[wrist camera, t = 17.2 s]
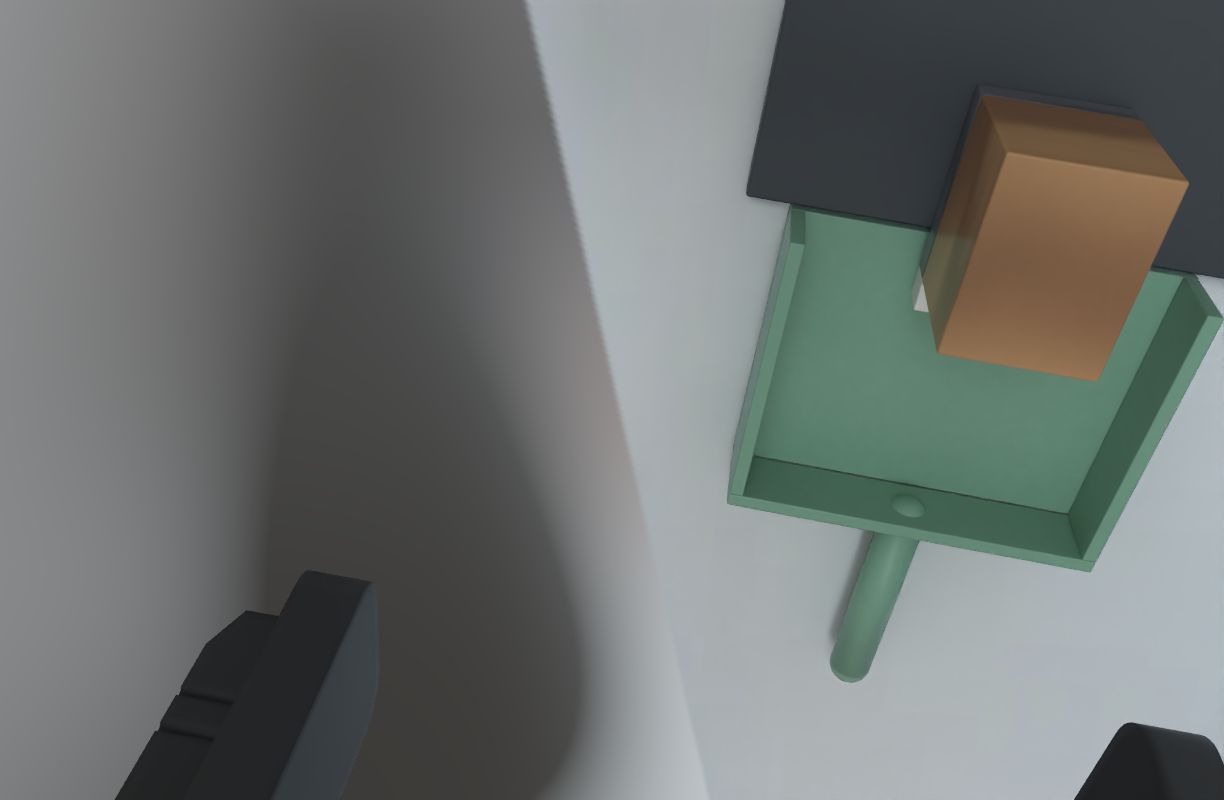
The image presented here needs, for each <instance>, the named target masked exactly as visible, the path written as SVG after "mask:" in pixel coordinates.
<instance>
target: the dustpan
mask: <svg viewBox="0 0 1224 800" xmlns="http://www.w3.org/2000/svg"><path fill="white" fill-rule="evenodd" d="M930 230H931V228H925V227H920V226H914V225H908V224H902V223H897V222H891V221H885V220H879V219H874V218H868V217H862V216H856V215H850V214H845V213H839V212H833V211H827V210H822V209H816V208H810V207H804V206H799V205H793V204H791V205H790V208H789V213H788V217H787V221H786V225H785V230H784V234H783V238H782V242H781V247H780V251H779V255H778V259H777V264H776V268H775V272H774V276H773V280H772V285H771V289H770V293H769V297H768V302H767V306H766V310H765V314H764V319H763V323H762V327H761V331H760V336H759V340H758V344H757V348H756V353H755V357H754V361H753V365H752V369H751V374H750V378H749V382H748V386H747V391H746V395H745V399H744V403H743V408H742V412H741V416H740V420H739V425H738V429H737V433H736V437H735V442H734V446H733V454H732V458H731V463H730V475H729V486H728V497H727V504H730V505H736V506H741V507H746V508H751V509H757V510H762V511H767V512H773V513H778V514H783V515H789V516H794V517H799V518H804V519H810V520H815V521H820V522H826V523H831V524H836V525H842V526H847V527H852V528H857V529H863V530H868V531H873V532H874V535H873V538H872V541H871V543H870V546H869V549H868V552H867V555H866V558H865V560H864V563H863V566H862V569H861V572H860V574H859V577H858V580H857V583H856V586H855V589H854V591H853V594H852V597H851V600H850V603H849V606H848V608H847V611H846V614H845V617H844V620H843V622H842V625H841V628H840V631H839V634H838V637H837V639H836V642H835V645H834V648H833V651H832V654H831V657H830V666H831V669H832V671H833V673H834V674H835V675H836V676H837V677H838V678H839V679H840V680H842V681H844V682H850V683H851V682H857V681H860V680H862V679H863V678H864V677H865V676H866V675H867V673H868V671H869V669H870V666H871V664H872V661H873V658H874V656H875V653H876V651H877V648H878V646H879V643H880V640H881V638H882V635H883V633H884V630H885V628H886V625H887V622H888V620H889V617H890V615H891V612H892V610H893V607H894V604H895V602H896V599H897V597H898V594H899V592H900V589H901V586H902V584H903V581H904V579H905V576H906V574H907V571H908V568H909V566H910V563H911V561H912V558H913V556H914V553H915V550H916V548H917V545H918V543H919V540H921V541H926V542H932V543H937V544H942V545H948V546H953V547H958V548H963V549H969V550H974V551H979V552H985V553H990V554H995V555H1001V556H1006V557H1011V558H1016V559H1022V560H1027V561H1032V562H1038V563H1043V564H1048V565H1054V566H1059V567H1064V568H1069V569H1075V570H1080V571H1085V572H1091V570H1092V568H1093V567H1094V565H1095V562H1096V561H1097V559H1098V557H1099V555H1100V553H1101V551H1102V550H1103V548H1104V546H1105V544H1106V542H1107V540H1108V538H1109V536H1110V534H1111V532H1112V531H1113V529H1114V527H1115V525H1116V523H1117V521H1118V519H1119V517H1120V515H1121V513H1122V512H1123V510H1124V508H1125V506H1126V504H1127V502H1128V500H1129V498H1130V496H1131V495H1132V493H1133V491H1134V489H1135V487H1136V485H1137V483H1138V481H1139V479H1140V477H1141V476H1142V474H1143V472H1144V470H1145V468H1146V466H1147V464H1148V462H1149V460H1150V458H1151V457H1152V455H1153V453H1154V451H1155V449H1156V447H1157V445H1158V443H1159V441H1160V440H1161V438H1162V436H1163V434H1164V432H1165V430H1166V428H1167V426H1168V424H1169V422H1170V421H1171V419H1172V417H1173V415H1174V413H1175V411H1176V409H1177V407H1178V405H1179V404H1180V402H1181V400H1182V398H1183V396H1184V394H1185V392H1186V390H1187V388H1188V386H1189V385H1190V383H1191V381H1192V379H1193V377H1194V375H1195V373H1196V371H1197V369H1198V367H1199V366H1200V364H1201V362H1202V360H1203V358H1204V356H1205V354H1206V352H1207V350H1208V349H1209V347H1210V345H1211V343H1212V341H1213V339H1214V337H1215V335H1216V333H1217V331H1218V330H1219V328H1220V326H1221V324H1222V322H1223V320H1224V318H1223V316H1222V315H1221V313H1220V312H1219V310H1218V309H1217V307H1216V306H1215V304H1214V303H1213V301H1212V300H1211V298H1210V297H1209V295H1208V294H1207V292H1206V291H1205V289H1204V288H1203V286H1202V285H1201V283H1200V282H1199V281H1198V278H1197V277H1196V275H1195V274H1191V273H1185V272H1179V271H1173V270H1167V269H1162V268H1156V267H1151V268H1150V270H1149V272H1148V274H1147V276H1146V279H1145V281H1144V283H1143V285H1142V287H1141V289H1140V291H1139V294H1138V296H1137V298H1136V300H1135V302H1134V304H1133V307H1132V309H1131V311H1130V313H1129V315H1128V317H1127V320H1126V322H1125V324H1124V326H1123V328H1122V330H1121V333H1120V335H1119V337H1118V339H1117V341H1116V343H1115V346H1114V348H1113V350H1112V352H1111V354H1110V356H1109V359H1108V361H1107V363H1106V365H1105V367H1104V369H1103V371H1102V374H1101V376H1100V378H1099V380H1098V381H1097V382H1093V381H1087V380H1081V379H1076V378H1070V377H1065V376H1059V375H1053V374H1048V373H1042V372H1036V371H1031V370H1025V369H1019V368H1014V367H1008V366H1002V365H997V364H991V363H986V362H980V361H974V360H969V359H963V358H957V357H952V356H946V355H940V354H938V353H937V351H936V346H935V341H934V336H933V331H932V326H931V321H930V316H929V312H923V311H918V310H914V308H913V302H912V296H911V290H912V287H913V284H914V280H915V277H916V274H917V271H918V268H919V264H920V261H921V258H922V255H923V251H924V248H925V245H926V242H927V239H928V236H929V233H930ZM753 455H754V456H760V457H765V458H771V459H776V460H781V461H787V462H792V463H797V464H803V465H808V466H814V467H819V468H824V469H830V470H835V471H840V472H846V473H851V474H857V475H862V476H867V477H873V478H878V479H883V480H889V481H894V482H900V483H905V484H910V485H916V486H921V487H926V488H932V489H937V490H943V491H948V492H953V493H959V494H964V495H969V496H975V497H980V498H986V499H991V500H996V501H1002V502H1007V503H1012V504H1018V505H1023V506H1029V507H1034V508H1039V509H1045V510H1050V511H1055V512H1061V513H1066V514H1068V515H1065V514H1059V513H1054V512H1049V511H1043V510H1038V509H1032V508H1027V507H1022V506H1016V505H1011V504H1006V503H1000V502H995V501H989V500H984V499H979V498H973V497H968V496H963V495H957V494H952V493H946V492H941V491H936V490H930V489H925V488H920V487H914V486H909V485H903V484H898V483H893V482H887V481H882V480H877V479H871V478H866V477H861V476H855V475H850V474H844V473H839V472H834V471H828V470H823V469H818V468H812V467H807V466H801V465H796V464H791V463H785V462H780V461H775V460H769V459H764V458H758V457H753Z"/></svg>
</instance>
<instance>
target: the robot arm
mask: <svg viewBox="0 0 1224 800" xmlns="http://www.w3.org/2000/svg"><path fill="white" fill-rule="evenodd" d="M377 592H378V591H377V586H376V584H375V583H374V582H371V581H364V580H359V579H354V578H348V577H343V576H338V575H332V574H326V573H321V572H316V571H309V570H308V571H306V572H304V573H303V574H302V575H301V577H300V578H299V580H298V582H297V583H296V585H295V587H294V589H293V590H292V592H291V594H290V596H289V598H288V600H287V602H286V604H285V606H284V608H283V609H282V612H281V613H280V615H279V616H274V615H269V614H263V613H258V612H253V611H245V612H244V613H243V614H242V615H240V616H239V617H238V618H237V619H236V620H234V621H233V622H232V623H231V624H229V625H228V626H227V627H226V628H225V629H223V630H222V631H221V632H220V633H219V634H217V635H216V636H215V637H214V638H213V639H211V640H210V641H209V642H208V643H206V645H205V647H204V648H203V650H202V651H201V653H200V655H199V657H198V658H197V660H196V662H195V664H194V666H193V667H192V669H191V670H190V672H189V674H188V676H187V677H186V679H185V681H184V682H183V684H182V686H181V691H180V694H179V695H176V696H175V698H174V699H173V701H172V703H171V705H170V706H169V708H168V710H167V711H166V713H165V715H164V716H163V718H162V720H161V722H160V728H159V730H158V731H155V732H154V734H153V736H152V737H151V739H150V740H149V742H148V744H147V746H146V747H145V749H144V751H143V752H142V754H141V756H140V757H139V759H138V761H137V763H136V764H135V766H134V768H133V769H132V771H131V773H130V775H129V776H128V778H127V780H126V781H125V783H124V785H123V787H122V788H121V790H120V792H119V793H118V795H117V797H116V798H115V800H340V798H341V796H342V793H343V791H344V788H345V786H346V783H347V780H348V778H349V775H350V772H351V770H352V768H353V765H354V762H355V760H356V757H357V755H358V752H359V750H360V747H361V744H362V742H363V739H364V737H365V734H366V731H367V729H368V726H369V723H370V720H371V716H372V712H373V709H374V704H375V700H376V695H377V689H378V681H379V635H378V593H377ZM1074 800H1224V764H1223V762H1222V759H1221V756H1220V754H1219V752H1218V750H1217V748H1216V747H1215V745H1214V744H1213V743H1212V742H1211V741H1210V740H1209V739H1208V738H1207V737H1205V736H1202V735H1198V734H1192V733H1187V732H1181V731H1176V730H1170V729H1165V728H1159V727H1154V726H1148V725H1143V724H1137V723H1126V724H1124V725H1123V726H1122V727H1121V728H1120V729H1119V730H1118V731H1117V733H1116V734H1115V736H1114V737H1113V739H1112V740H1111V742H1110V744H1109V745H1108V747H1107V748H1106V750H1105V751H1104V753H1103V755H1102V756H1101V758H1100V759H1099V761H1098V763H1097V764H1096V766H1095V767H1094V769H1093V770H1092V772H1091V774H1090V775H1089V777H1088V778H1087V780H1086V782H1085V783H1084V785H1083V786H1082V788H1081V789H1080V791H1079V793H1078V794H1077V796H1076V797H1075V799H1074Z"/></svg>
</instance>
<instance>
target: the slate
mask: <svg viewBox="0 0 1224 800" xmlns="http://www.w3.org/2000/svg"><path fill="white" fill-rule="evenodd" d="M978 84H984V85H990V86H996V87H1002V88H1008V89H1015V90H1021V91H1027V92H1033V93H1039V94H1045V95H1051V96H1057V97H1064V98H1070V99H1076V100H1082V101H1088V102H1094V103H1100V104H1106V105H1113V106H1119V107H1125V108H1131V109H1133V110H1134V112H1135V113H1136V114H1137V115H1138V117H1139V118H1140V119H1141V121H1142V122H1143V123H1144V124H1145V126H1146V127H1147V128H1148V130H1149V131H1150V132H1151V133H1152V135H1153V136H1154V137H1155V139H1156V140H1157V141H1158V143H1159V144H1160V145H1161V146H1162V148H1163V149H1164V150H1165V152H1166V153H1167V154H1168V156H1169V157H1170V158H1171V159H1172V161H1173V162H1174V163H1175V165H1176V166H1177V167H1178V169H1179V170H1180V171H1181V172H1182V174H1183V175H1184V176H1185V178H1186V179H1187V180H1188V182H1189V186H1188V188H1187V190H1186V192H1185V194H1184V196H1183V199H1182V201H1181V203H1180V205H1179V207H1178V209H1177V211H1176V214H1175V216H1174V218H1173V220H1172V222H1171V224H1170V227H1169V229H1168V231H1167V233H1166V235H1165V237H1164V240H1163V242H1162V244H1161V246H1160V248H1159V250H1158V253H1157V255H1156V257H1155V259H1154V261H1153V263H1152V266H1153V267H1159V268H1165V269H1171V270H1176V271H1182V272H1188V273H1194V274H1200V275H1205V276H1211V277H1217V278H1223V279H1224V0H785V5H784V10H783V15H782V20H781V24H780V29H779V34H778V39H777V44H776V48H775V53H774V58H773V63H772V68H771V72H770V77H769V82H768V87H767V92H766V96H765V101H764V106H763V111H762V116H761V121H760V125H759V130H758V135H757V140H756V145H755V149H754V154H753V159H752V164H751V169H750V173H749V178H748V183H747V190H746V194H747V196H750V197H756V198H761V199H767V200H773V201H779V202H784V203H790V204H796V205H802V206H808V207H813V208H819V209H825V210H831V211H836V212H842V213H848V214H854V215H859V216H865V217H871V218H877V219H882V220H888V221H894V222H900V223H906V224H911V225H917V226H923V227H929V228H931V226H932V223H933V220H934V217H935V214H936V211H937V208H938V205H939V201H940V198H941V195H942V192H943V189H944V186H945V183H946V180H947V176H948V173H949V170H950V167H951V164H952V161H953V158H954V155H955V152H956V148H957V145H958V142H959V139H960V136H961V133H962V130H963V127H964V123H965V120H966V117H967V114H968V111H969V108H970V105H971V102H972V98H973V95H974V92H975V89H976V86H977V85H978Z"/></svg>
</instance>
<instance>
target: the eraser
mask: <svg viewBox="0 0 1224 800" xmlns="http://www.w3.org/2000/svg"><path fill="white" fill-rule="evenodd" d="M1188 186H1189V182H1188V180H1187V179H1186V178H1185V176H1184V175H1183V174H1182V172H1181V171H1180V170H1179V169H1178V167H1177V166H1176V165H1175V163H1174V162H1173V161H1172V159H1171V158H1170V157H1169V156H1168V154H1167V153H1166V152H1165V150H1164V149H1163V148H1162V146H1161V145H1160V144H1159V143H1158V141H1157V140H1156V139H1155V137H1154V136H1153V135H1152V133H1151V132H1150V131H1149V130H1148V128H1147V127H1146V126H1145V124H1144V123H1143V122H1142V121H1141V119H1140V118H1139V117H1138V115H1137V114H1136V113H1135V112H1134V110H1133V109H1131V108H1125V107H1119V106H1113V105H1106V104H1100V103H1094V102H1088V101H1082V100H1076V99H1070V98H1064V97H1057V96H1051V95H1045V94H1039V93H1033V92H1027V91H1021V90H1015V89H1008V88H1002V87H996V86H990V85H984V84H978V85H977V86H976V89H975V92H974V95H973V98H972V102H971V105H970V108H969V111H968V114H967V117H966V120H965V123H964V127H963V130H962V133H961V136H960V139H959V142H958V145H957V148H956V152H955V155H954V158H953V161H952V164H951V167H950V170H949V173H948V176H947V180H946V183H945V186H944V189H943V192H942V195H941V198H940V201H939V205H938V208H937V211H936V214H935V217H934V220H933V223H932V226H931V230H930V233H929V236H928V239H927V242H926V245H925V248H924V251H923V255H922V258H921V261H920V264H919V266H920V271H921V276H922V281H923V286H924V291H925V296H926V301H927V306H928V311H929V316H930V321H931V326H932V331H933V336H934V341H935V346H936V351H937V353H938V354H940V355H946V356H952V357H957V358H963V359H969V360H974V361H980V362H986V363H991V364H997V365H1002V366H1008V367H1014V368H1019V369H1025V370H1031V371H1036V372H1042V373H1048V374H1053V375H1059V376H1065V377H1070V378H1076V379H1081V380H1087V381H1093V382H1097V381H1098V380H1099V378H1100V376H1101V374H1102V371H1103V369H1104V367H1105V365H1106V363H1107V361H1108V359H1109V356H1110V354H1111V352H1112V350H1113V348H1114V346H1115V343H1116V341H1117V339H1118V337H1119V335H1120V333H1121V330H1122V328H1123V326H1124V324H1125V322H1126V320H1127V317H1128V315H1129V313H1130V311H1131V309H1132V307H1133V304H1134V302H1135V300H1136V298H1137V296H1138V294H1139V291H1140V289H1141V287H1142V285H1143V283H1144V281H1145V279H1146V276H1147V274H1148V272H1149V270H1150V268H1151V266H1152V263H1153V261H1154V259H1155V257H1156V255H1157V253H1158V250H1159V248H1160V246H1161V244H1162V242H1163V240H1164V237H1165V235H1166V233H1167V231H1168V229H1169V227H1170V224H1171V222H1172V220H1173V218H1174V216H1175V214H1176V211H1177V209H1178V207H1179V205H1180V203H1181V201H1182V199H1183V196H1184V194H1185V192H1186V190H1187V188H1188Z"/></svg>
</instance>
